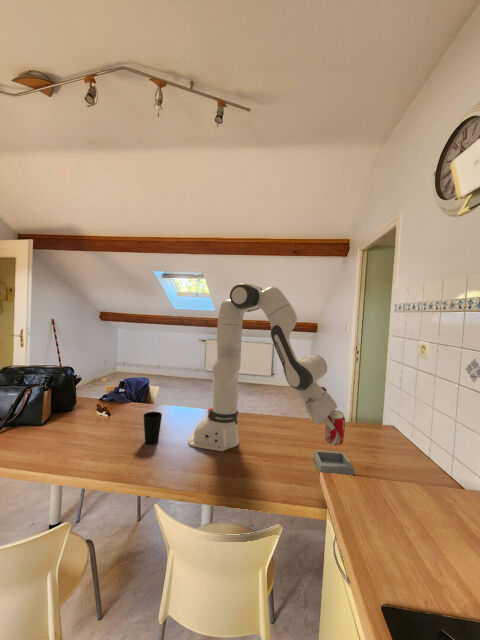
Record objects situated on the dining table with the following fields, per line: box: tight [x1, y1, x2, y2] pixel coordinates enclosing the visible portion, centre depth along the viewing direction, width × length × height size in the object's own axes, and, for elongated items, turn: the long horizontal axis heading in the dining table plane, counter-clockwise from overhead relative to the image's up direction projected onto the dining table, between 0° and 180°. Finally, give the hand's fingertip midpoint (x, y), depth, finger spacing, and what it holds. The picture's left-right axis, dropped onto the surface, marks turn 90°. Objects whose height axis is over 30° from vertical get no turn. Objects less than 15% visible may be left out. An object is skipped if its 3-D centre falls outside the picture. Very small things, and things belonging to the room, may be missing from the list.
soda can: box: [324, 409, 346, 446], centre depth 114 cm, size 7×7×12 cm
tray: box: [313, 449, 355, 476], centre depth 113 cm, size 12×12×4 cm
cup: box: [143, 411, 163, 446], centre depth 128 cm, size 8×8×12 cm
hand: (336, 425), depth 113 cm, fingers closed on soda can, 5 cm apart
